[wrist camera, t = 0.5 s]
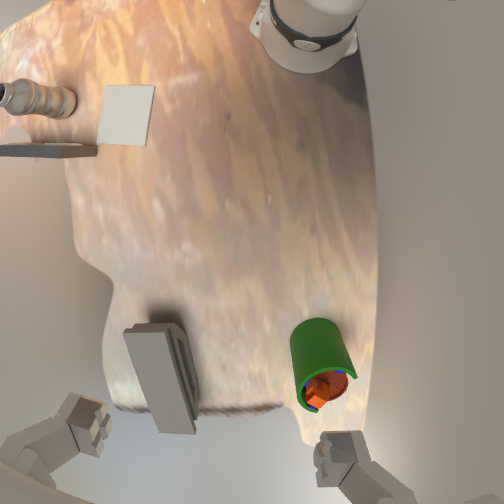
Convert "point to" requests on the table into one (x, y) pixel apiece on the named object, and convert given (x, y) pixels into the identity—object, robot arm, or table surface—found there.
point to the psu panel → (48, 150)
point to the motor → (319, 363)
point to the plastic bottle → (36, 99)
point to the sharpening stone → (165, 374)
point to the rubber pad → (125, 115)
